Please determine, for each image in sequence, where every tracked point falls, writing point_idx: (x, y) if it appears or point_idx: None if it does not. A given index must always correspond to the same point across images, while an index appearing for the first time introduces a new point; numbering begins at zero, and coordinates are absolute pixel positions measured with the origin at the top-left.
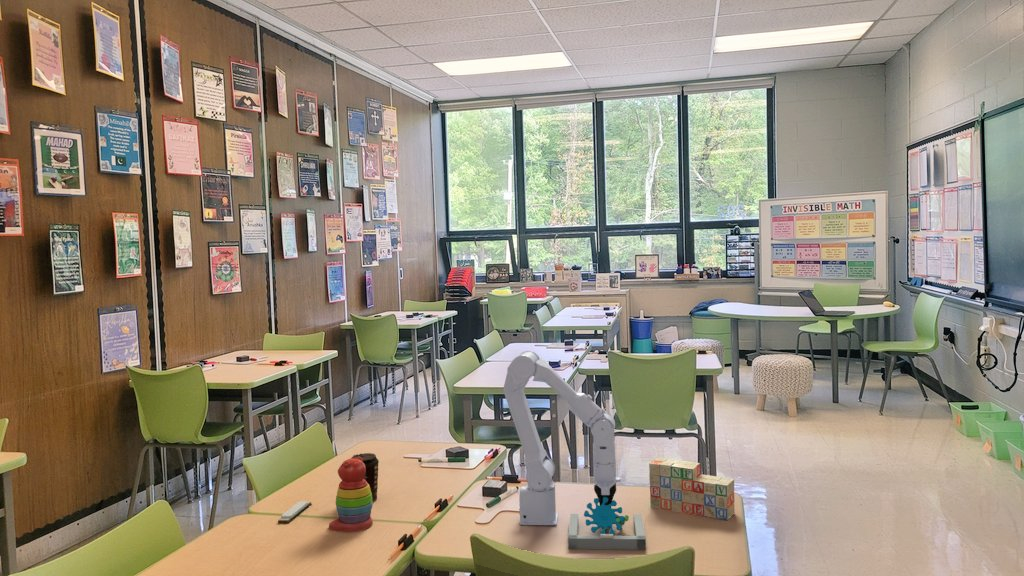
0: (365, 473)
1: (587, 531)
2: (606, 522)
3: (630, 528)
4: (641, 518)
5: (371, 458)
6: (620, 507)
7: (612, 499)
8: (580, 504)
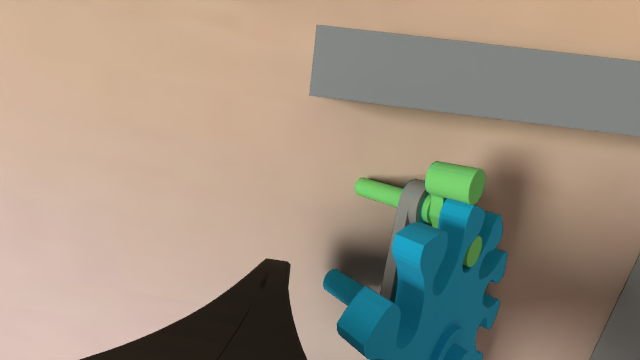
0: None
1: None
2: (470, 319)
3: (386, 128)
4: (411, 40)
5: None
6: (424, 256)
7: (295, 336)
8: (31, 323)
